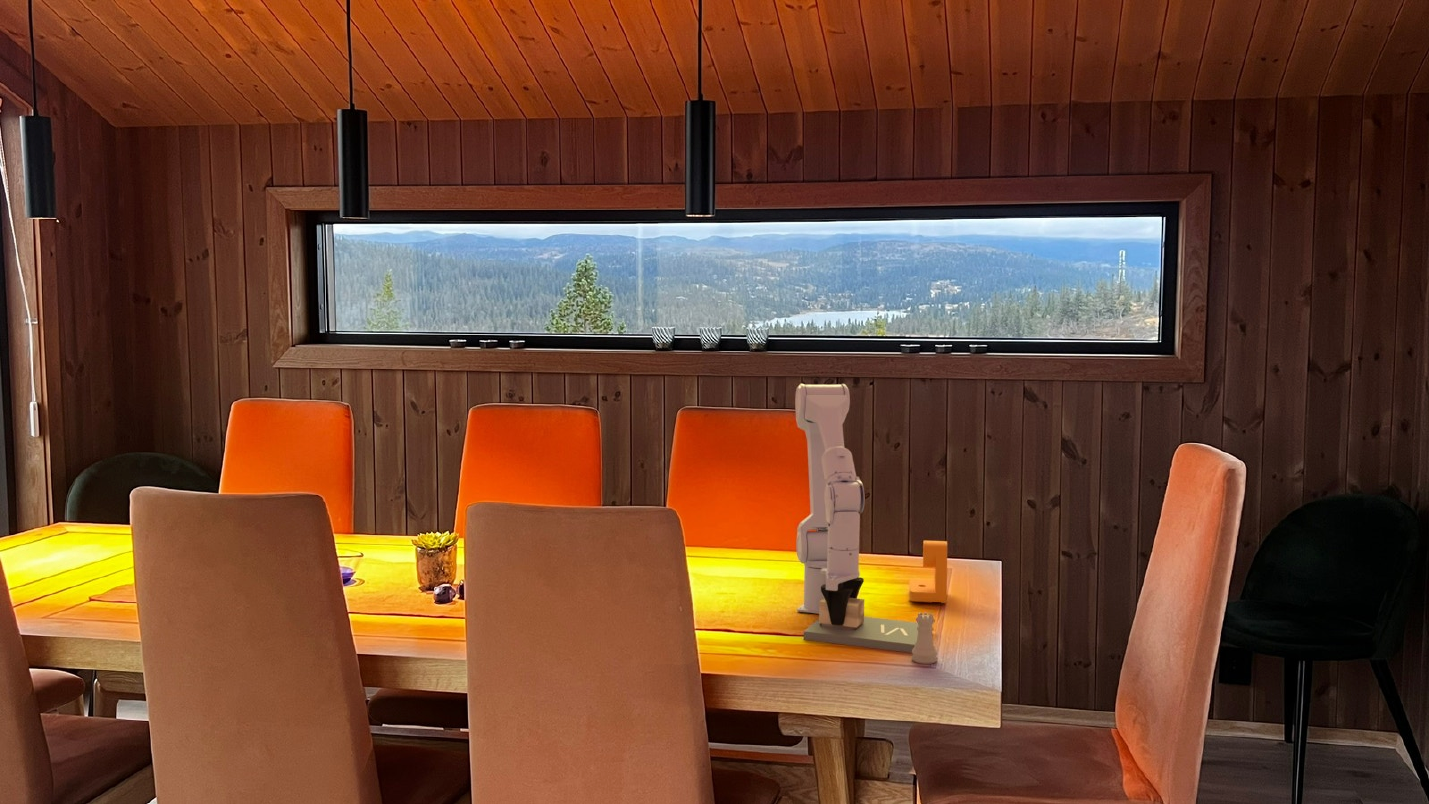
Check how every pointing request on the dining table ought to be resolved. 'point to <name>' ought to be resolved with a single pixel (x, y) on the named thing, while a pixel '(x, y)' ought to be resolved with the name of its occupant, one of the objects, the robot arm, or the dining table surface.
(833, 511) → the robot arm
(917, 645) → the rook chess piece
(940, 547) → the bracket
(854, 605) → the block
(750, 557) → the dining table surface
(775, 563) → the dining table surface
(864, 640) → the board
